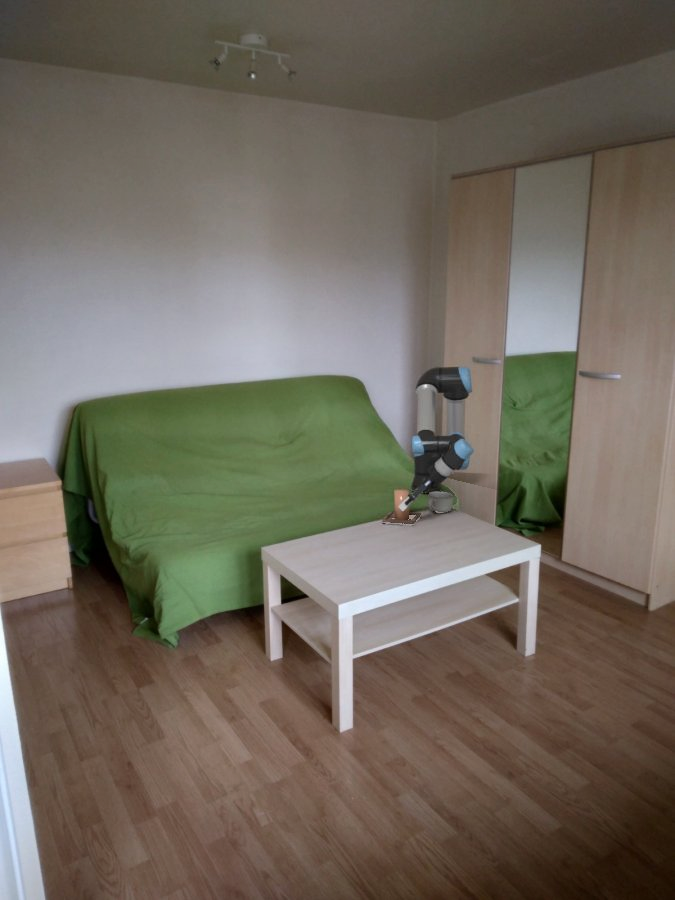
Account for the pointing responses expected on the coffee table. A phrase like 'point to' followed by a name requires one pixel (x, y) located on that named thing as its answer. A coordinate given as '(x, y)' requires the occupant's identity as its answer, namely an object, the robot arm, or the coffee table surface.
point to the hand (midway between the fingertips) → (405, 504)
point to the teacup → (440, 501)
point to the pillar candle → (398, 499)
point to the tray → (392, 515)
